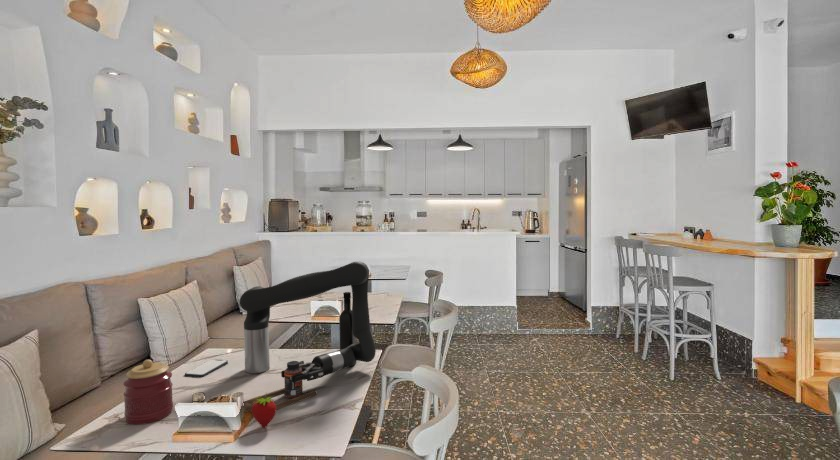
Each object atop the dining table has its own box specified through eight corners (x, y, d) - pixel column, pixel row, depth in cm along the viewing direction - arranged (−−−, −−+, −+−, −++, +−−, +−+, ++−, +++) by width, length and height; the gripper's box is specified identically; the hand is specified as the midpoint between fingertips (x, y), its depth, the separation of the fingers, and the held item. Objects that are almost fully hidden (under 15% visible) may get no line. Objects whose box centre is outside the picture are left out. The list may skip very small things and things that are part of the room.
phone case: (202, 379, 164) (229, 363, 179) (202, 375, 164) (229, 360, 179) (183, 377, 165) (211, 362, 181) (182, 373, 165) (210, 358, 181)
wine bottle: (344, 361, 179) (343, 291, 178) (357, 362, 178) (356, 291, 177) (339, 366, 174) (337, 293, 173) (352, 367, 173) (351, 294, 171)
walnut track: (242, 405, 139) (242, 401, 139) (299, 386, 154) (299, 382, 154) (258, 416, 131) (258, 412, 131) (316, 394, 147) (316, 391, 147)
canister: (143, 405, 140) (141, 352, 139) (182, 405, 140) (180, 352, 139) (113, 425, 127) (111, 367, 126) (156, 425, 127) (154, 367, 126)
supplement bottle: (297, 399, 143) (296, 366, 143) (281, 398, 144) (280, 365, 144) (305, 391, 149) (304, 360, 148) (290, 390, 150) (289, 359, 150)
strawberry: (260, 420, 129) (259, 387, 129) (281, 423, 127) (280, 391, 126) (246, 429, 123) (246, 396, 123) (268, 433, 121) (267, 399, 121)
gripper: (316, 349, 161) (275, 361, 149) (339, 357, 152) (297, 371, 139) (317, 368, 162) (276, 382, 150) (340, 378, 152) (298, 393, 140)
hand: (286, 376), depth 145 cm, fingers closed on supplement bottle, 6 cm apart
